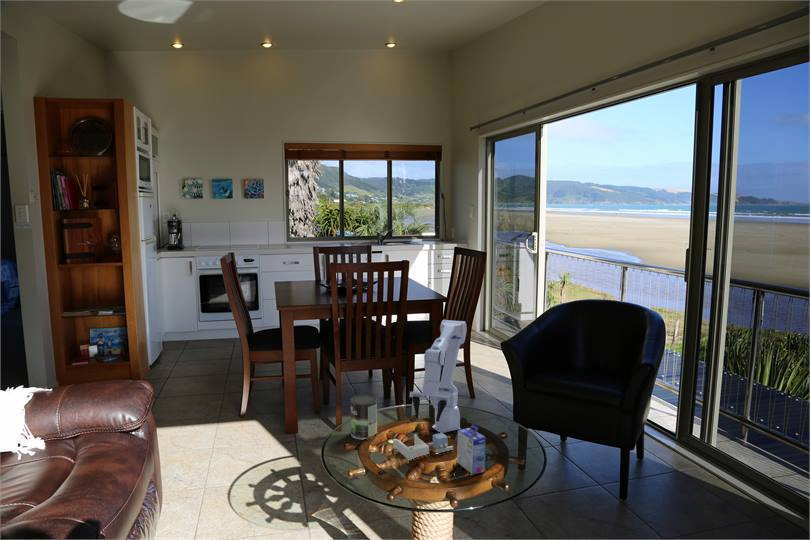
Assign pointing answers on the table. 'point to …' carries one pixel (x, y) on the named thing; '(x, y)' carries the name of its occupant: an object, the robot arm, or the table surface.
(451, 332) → the robot arm
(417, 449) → the port
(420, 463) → the table surface
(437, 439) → the plug
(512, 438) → the table surface
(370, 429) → the coffee can
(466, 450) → the ink cartridge box
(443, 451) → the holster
